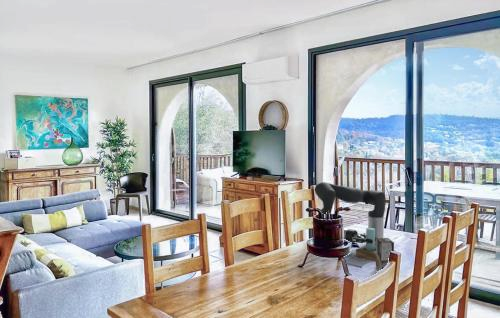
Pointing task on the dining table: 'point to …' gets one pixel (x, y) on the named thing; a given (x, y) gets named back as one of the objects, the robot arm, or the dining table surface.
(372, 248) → the teal peg
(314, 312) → the dining table surface
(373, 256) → the walnut holder
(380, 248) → the coffee box
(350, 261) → the slate mat
